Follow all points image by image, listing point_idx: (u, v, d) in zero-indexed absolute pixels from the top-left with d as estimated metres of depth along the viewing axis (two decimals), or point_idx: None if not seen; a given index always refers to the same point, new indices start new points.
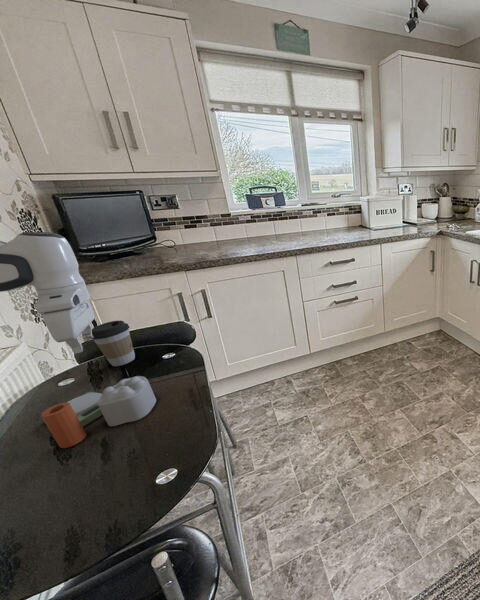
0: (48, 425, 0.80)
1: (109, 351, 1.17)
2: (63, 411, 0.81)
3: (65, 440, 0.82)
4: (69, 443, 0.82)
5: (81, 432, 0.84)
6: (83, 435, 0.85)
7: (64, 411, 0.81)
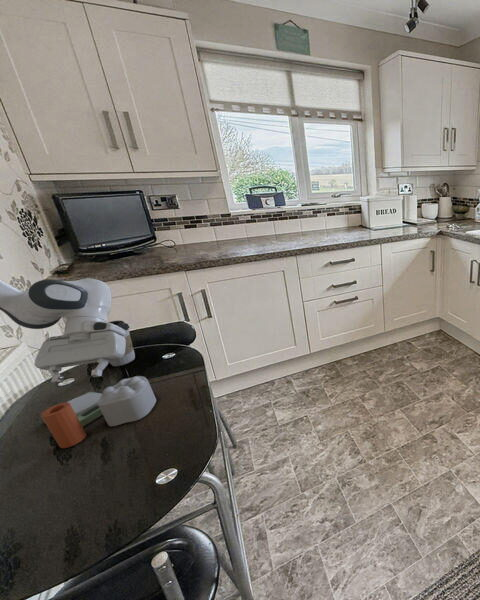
0: (48, 425, 0.80)
1: None
2: (63, 411, 0.81)
3: (65, 440, 0.82)
4: (69, 443, 0.82)
5: (81, 432, 0.84)
6: (83, 435, 0.85)
7: (64, 411, 0.81)
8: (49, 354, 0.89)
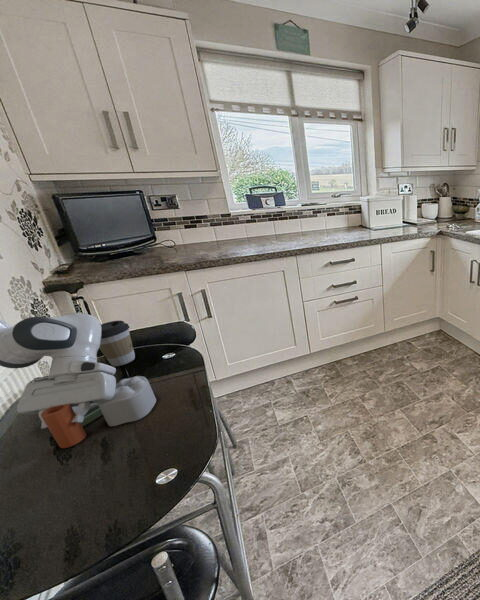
0: (48, 425, 0.80)
1: (109, 351, 1.17)
2: (63, 411, 0.81)
3: (65, 440, 0.82)
4: (69, 443, 0.82)
5: (81, 432, 0.84)
6: (83, 435, 0.85)
7: (64, 411, 0.81)
8: (32, 398, 0.83)
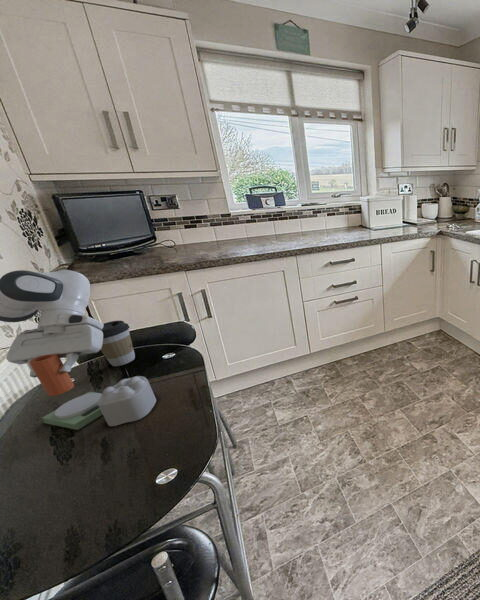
0: (36, 372, 0.83)
1: (109, 351, 1.17)
2: (51, 359, 0.83)
3: (53, 388, 0.85)
4: (57, 391, 0.85)
5: (69, 382, 0.87)
6: (71, 385, 0.88)
7: (52, 359, 0.84)
8: (22, 348, 0.85)
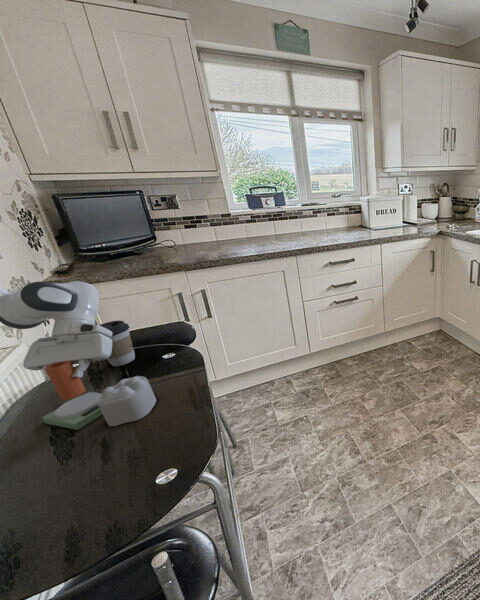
0: (51, 378, 0.89)
1: None
2: (64, 366, 0.90)
3: (66, 392, 0.91)
4: (70, 395, 0.91)
5: (81, 386, 0.94)
6: (82, 389, 0.94)
7: (65, 366, 0.90)
8: (37, 355, 0.92)
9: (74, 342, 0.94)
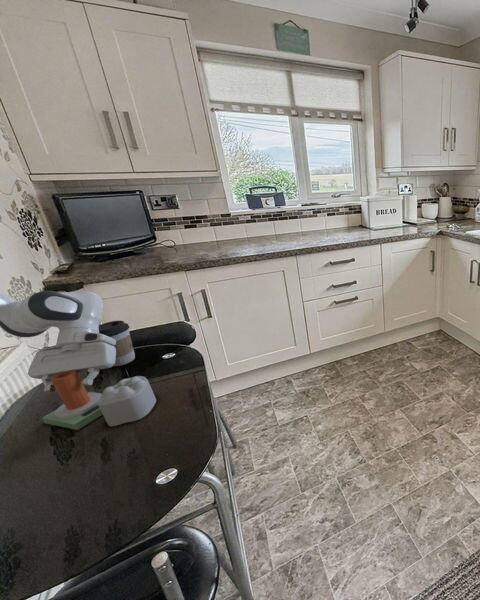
0: (57, 388, 0.90)
1: None
2: (70, 376, 0.91)
3: (72, 402, 0.92)
4: (75, 405, 0.93)
5: (86, 396, 0.95)
6: (87, 399, 0.95)
7: (71, 376, 0.91)
8: (41, 364, 0.93)
9: (78, 351, 0.95)
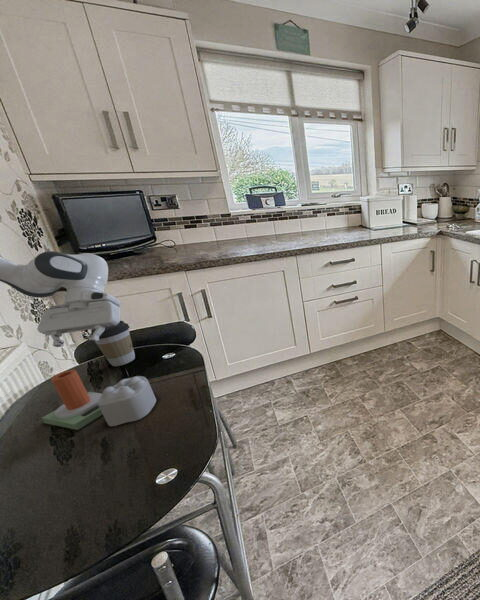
0: (57, 388, 0.90)
1: (109, 351, 1.17)
2: (70, 376, 0.91)
3: (72, 402, 0.92)
4: (75, 405, 0.93)
5: (86, 396, 0.95)
6: (87, 399, 0.95)
7: (71, 376, 0.91)
8: (50, 321, 0.97)
9: (85, 309, 1.00)
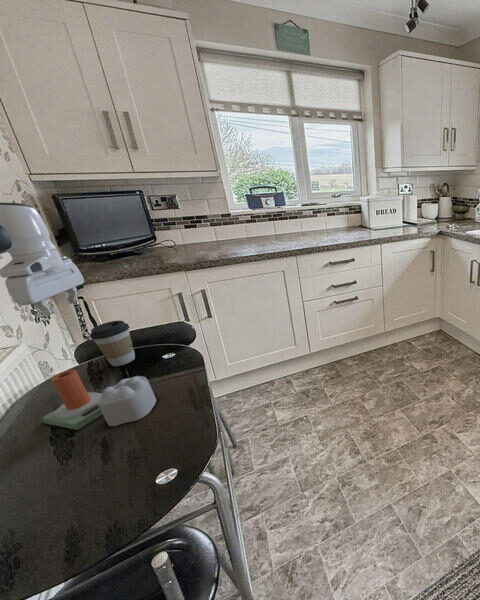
0: (57, 388, 0.90)
1: (109, 351, 1.17)
2: (70, 376, 0.91)
3: (72, 402, 0.92)
4: (75, 405, 0.93)
5: (86, 396, 0.95)
6: (87, 399, 0.95)
7: (71, 376, 0.91)
8: None
9: None
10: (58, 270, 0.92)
